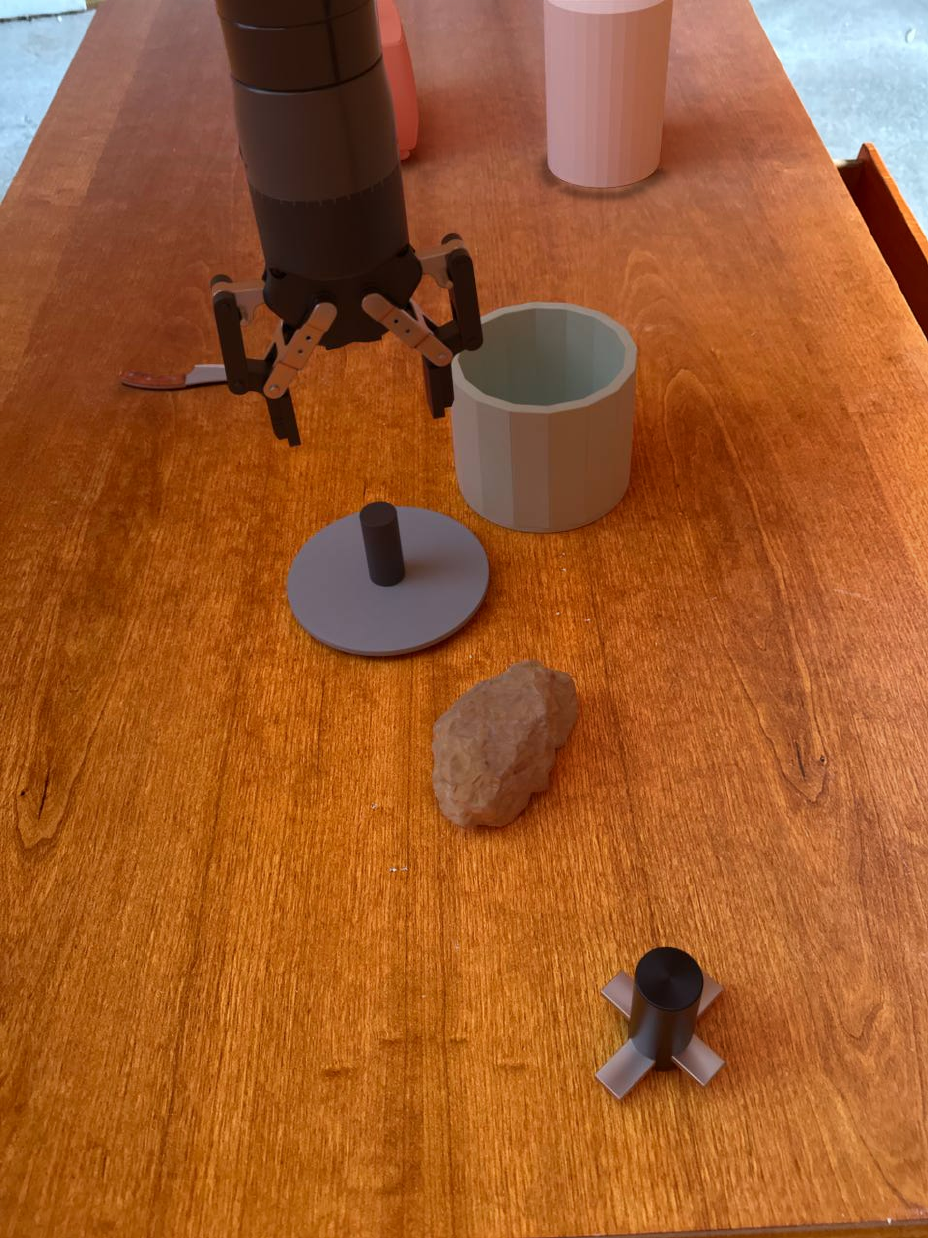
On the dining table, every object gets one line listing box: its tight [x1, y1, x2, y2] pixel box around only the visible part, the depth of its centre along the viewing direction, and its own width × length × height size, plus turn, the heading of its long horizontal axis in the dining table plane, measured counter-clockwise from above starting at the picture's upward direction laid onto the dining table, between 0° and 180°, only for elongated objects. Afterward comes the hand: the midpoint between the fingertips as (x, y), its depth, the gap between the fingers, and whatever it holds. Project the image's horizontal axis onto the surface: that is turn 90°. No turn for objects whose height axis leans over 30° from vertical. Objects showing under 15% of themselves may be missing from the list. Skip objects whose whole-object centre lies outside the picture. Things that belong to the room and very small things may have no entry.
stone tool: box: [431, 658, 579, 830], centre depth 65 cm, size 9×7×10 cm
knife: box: [117, 363, 227, 390], centre depth 94 cm, size 13×1×3 cm
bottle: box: [543, 0, 674, 189], centre depth 107 cm, size 12×12×25 cm
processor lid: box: [286, 500, 490, 657], centre depth 75 cm, size 14×14×7 cm
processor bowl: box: [449, 301, 639, 534], centre depth 80 cm, size 13×13×10 cm
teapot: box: [376, 0, 419, 162], centre depth 116 cm, size 22×13×14 cm, turn 7°
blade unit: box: [593, 946, 726, 1103], centre depth 53 cm, size 8×6×7 cm
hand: (365, 424), depth 67 cm, fingers open, 8 cm apart
